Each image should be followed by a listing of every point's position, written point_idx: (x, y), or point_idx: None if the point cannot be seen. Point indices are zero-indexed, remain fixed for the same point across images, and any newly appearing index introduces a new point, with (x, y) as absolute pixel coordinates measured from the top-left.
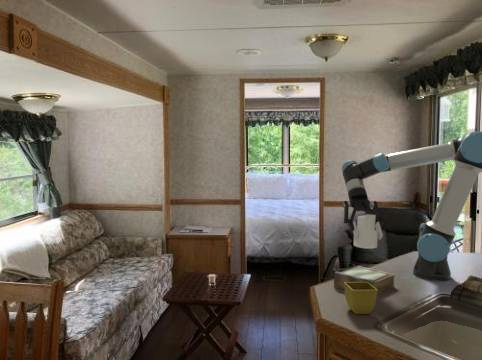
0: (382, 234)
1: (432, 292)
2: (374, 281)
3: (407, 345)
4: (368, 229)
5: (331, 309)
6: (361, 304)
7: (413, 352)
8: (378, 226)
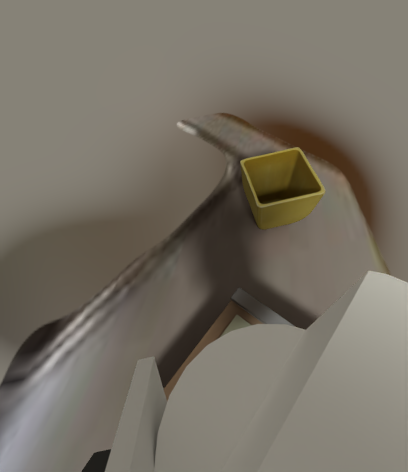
0: (136, 368)
1: (36, 392)
2: (224, 325)
3: (211, 130)
4: (262, 406)
5: (332, 212)
6: (272, 178)
7: (208, 119)
8: (132, 454)
